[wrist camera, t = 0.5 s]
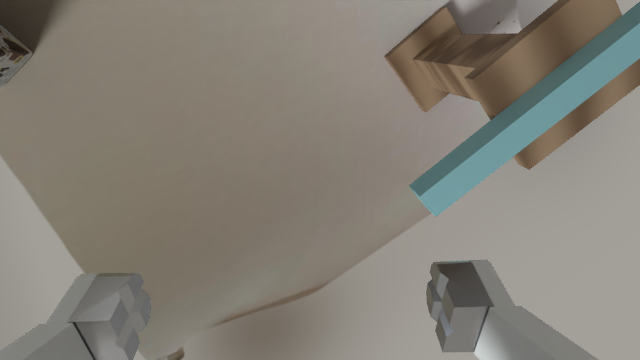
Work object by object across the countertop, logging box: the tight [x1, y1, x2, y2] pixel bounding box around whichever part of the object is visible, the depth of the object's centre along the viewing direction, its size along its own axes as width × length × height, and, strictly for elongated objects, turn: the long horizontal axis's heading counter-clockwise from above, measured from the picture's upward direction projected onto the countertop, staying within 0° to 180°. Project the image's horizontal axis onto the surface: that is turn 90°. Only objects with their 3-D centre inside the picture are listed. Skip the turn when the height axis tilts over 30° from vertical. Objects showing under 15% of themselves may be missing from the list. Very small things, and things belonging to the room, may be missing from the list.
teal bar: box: [409, 2, 640, 216], centre depth 30 cm, size 24×2×2 cm, turn 129°
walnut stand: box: [384, 0, 640, 169], centre depth 43 cm, size 12×10×26 cm
